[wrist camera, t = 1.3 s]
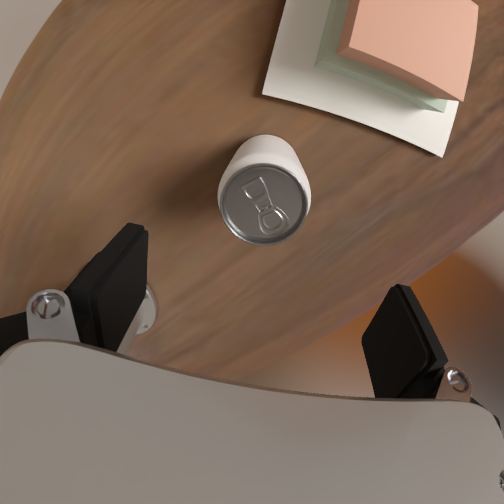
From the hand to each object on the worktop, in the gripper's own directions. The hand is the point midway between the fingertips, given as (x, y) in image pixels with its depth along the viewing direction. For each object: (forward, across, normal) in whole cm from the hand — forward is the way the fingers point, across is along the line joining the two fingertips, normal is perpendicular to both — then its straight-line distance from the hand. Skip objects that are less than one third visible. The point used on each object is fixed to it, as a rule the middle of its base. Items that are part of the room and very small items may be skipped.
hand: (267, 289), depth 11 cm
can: (+21, 0, +1) cm, 21 cm away
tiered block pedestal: (+21, -8, -16) cm, 28 cm away
